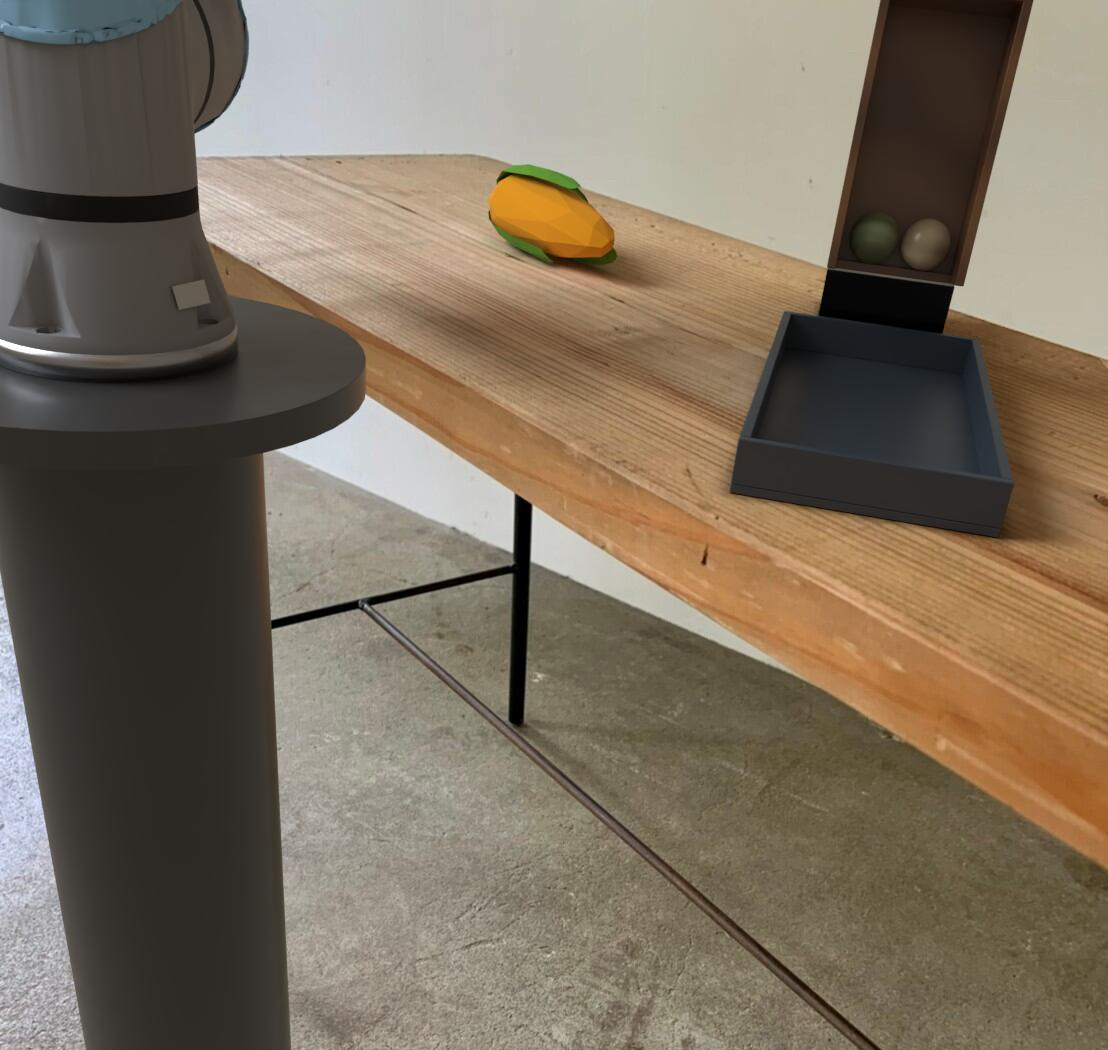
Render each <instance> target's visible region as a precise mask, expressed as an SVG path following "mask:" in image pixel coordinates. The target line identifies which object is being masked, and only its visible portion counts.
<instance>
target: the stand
mask: <svg viewBox="0 0 1108 1050" xmlns="http://www.w3.org/2000/svg"><path fill="white" fill-rule="evenodd" d="M954 291H955V285H953V284H949V283H942V282H935V281H927V280H920V279H913V278H906V277H898V276H891V275H884V274H876V273H869V272H862V271H855V270H847V269H840V268H835V269H832V268H827V269H826V274H825V278H824V284H823V289H822V294H821V299H820V303H819V308H818V309H819V310H818V315H817V316H824V317H831V318H837V319H844V320H851V321H858V322H865V323H872V324H879V325H886V326H893V327H900V328H907V329H914V330H921V331H928V332H935V333H941V334H944V330H945V325H946V322H947V318H948V315H949V311H950V307H951V303H952V300H953V295H954Z"/></svg>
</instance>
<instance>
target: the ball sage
mask: <svg viewBox="0 0 1108 1050" xmlns="http://www.w3.org/2000/svg"><path fill="white" fill-rule="evenodd" d="M849 240H850V247H851V250H852V252H853V254H854V255H855V256H856V258H858V259H859V260H860V261H862V262H865V263H869V264H874V263H879V262H882V261H884V260H886V259H887V258H888V257H890V256H891V255H892V253H893V252H894V251H895V249H896V247H897V245H898V241H899V229H898V226H897V224H896V222H895V220H894V219H893V218H892V217H891V216H889V215H888V214H886V213H883V212H870V213H867V214H865V215H863V216H862V217H861V218H859V219H858V220H857V222H856V223H855V224H854V226H853V227H852V230H851V233H850V239H849Z"/></svg>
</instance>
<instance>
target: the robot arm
mask: <svg viewBox="0 0 1108 1050" xmlns="http://www.w3.org/2000/svg"><path fill="white" fill-rule="evenodd" d="M247 21H248V18H247V16H246V13H245V10H244V7H243V2H242V0H0V365H1V366H3V367H5V368H8V369H10V370H13V371H16V372H20V373H23V374H27V375H32V376H36V377H41V378H47V379H54V380H62V381H71V382H84V383H142V382H155V381H164V380H172V379H178V378H184V377H189V376H194V375H198V374H202V373H205V372H208V371H211V370H214V369H217V368H219V367H221V366H223V365H225V364H227V363H228V362H230V361H231V360H232V359H234V358H235V356H236V355H237V353H238V335H237V322H236V320H235V316H234V312H233V309H232V307H231V304H230V301H229V299H228V296H229V295H228V294H227V291H226V288H225V286H224V282H223V280H222V278H221V274H220V272H219V269H218V266H217V264H216V261H215V259H214V256H213V253H212V251H211V248H210V245H209V242H208V240H207V237H206V234H205V231H204V229H203V225H202V221H201V220H202V219H201V212H200V210H201V209H200V199H199V197H200V195H199V180H198V179H199V178H198V165H197V163H198V162H197V150H196V149H197V148H196V136H195V135H196V134H197V133H199V132H202V131H203V130H206V129H207V128H208V127H210V126H211V125H212V124H214V123H215V122H216V120H217V119H219V118H220V117H221V116H222V115H223V114H224V113H225V112H226V111H227V110H228V109H229V107H230V106H231V105H232V103H233V101H234V99H235V98H236V97H237V95H238V93H239V92H240V91H239V90H240V89H241V87H242V83H243V80H244V79H245V75H246V71H247V67H248V61H249V55H250V36H249V35H250V34H249V29H248V28H249V27H248V22H247Z"/></svg>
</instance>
